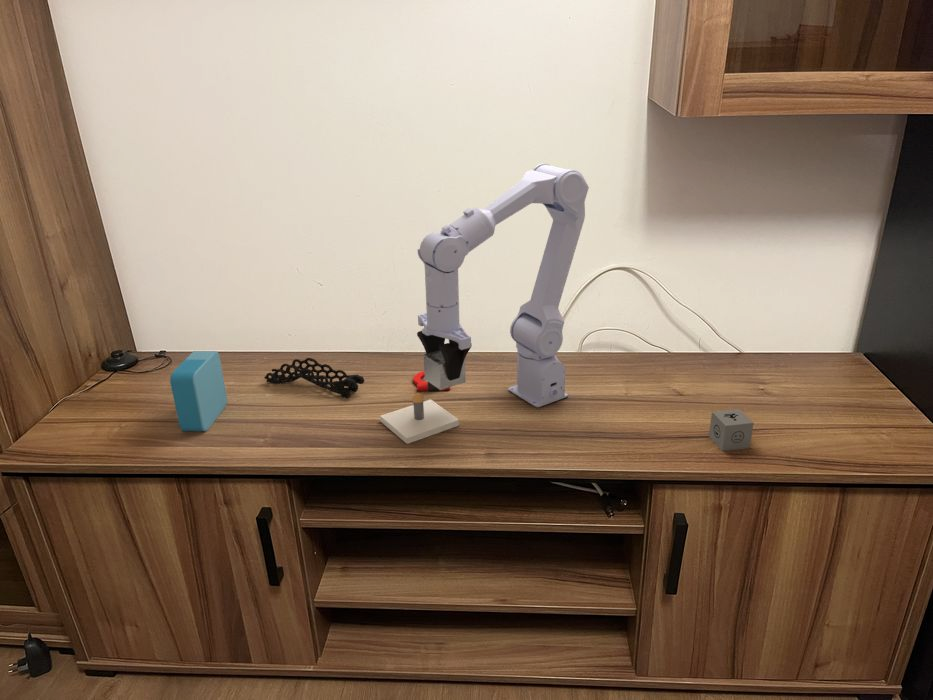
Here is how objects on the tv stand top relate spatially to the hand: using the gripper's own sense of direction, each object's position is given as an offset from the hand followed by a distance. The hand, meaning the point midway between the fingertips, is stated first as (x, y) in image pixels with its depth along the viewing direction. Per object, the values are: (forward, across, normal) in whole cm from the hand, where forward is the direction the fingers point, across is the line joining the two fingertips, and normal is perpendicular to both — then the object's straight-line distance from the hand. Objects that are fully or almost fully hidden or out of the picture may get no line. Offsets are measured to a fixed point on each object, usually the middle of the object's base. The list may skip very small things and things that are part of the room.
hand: (444, 372), depth 131 cm
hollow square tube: (+2, 0, 0) cm, 2 cm away
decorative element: (+10, -27, -15) cm, 32 cm away
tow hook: (+10, -15, +6) cm, 19 cm away
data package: (+10, -28, -37) cm, 47 cm away
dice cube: (+10, +36, +35) cm, 51 cm away
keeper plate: (+10, -2, -5) cm, 11 cm away
